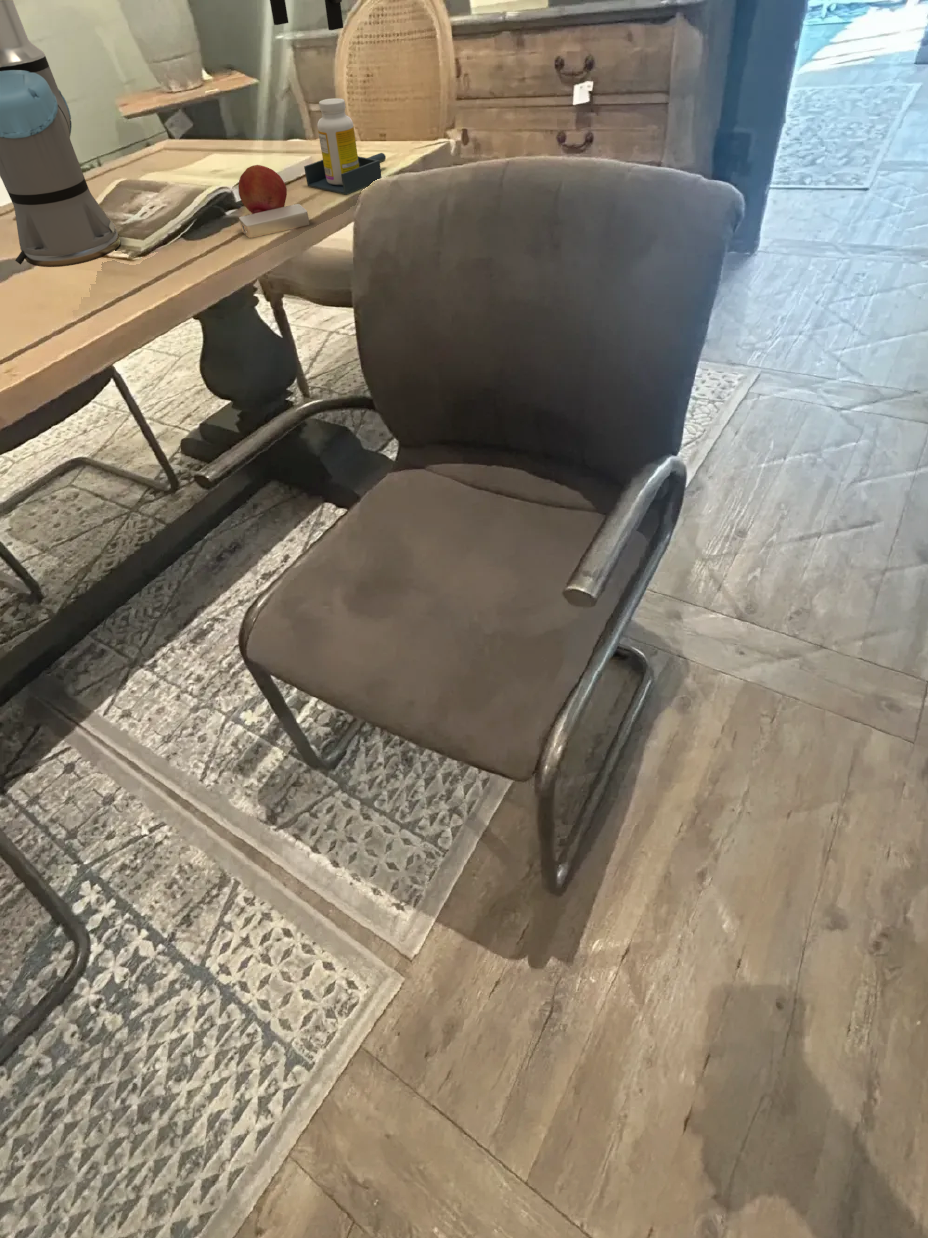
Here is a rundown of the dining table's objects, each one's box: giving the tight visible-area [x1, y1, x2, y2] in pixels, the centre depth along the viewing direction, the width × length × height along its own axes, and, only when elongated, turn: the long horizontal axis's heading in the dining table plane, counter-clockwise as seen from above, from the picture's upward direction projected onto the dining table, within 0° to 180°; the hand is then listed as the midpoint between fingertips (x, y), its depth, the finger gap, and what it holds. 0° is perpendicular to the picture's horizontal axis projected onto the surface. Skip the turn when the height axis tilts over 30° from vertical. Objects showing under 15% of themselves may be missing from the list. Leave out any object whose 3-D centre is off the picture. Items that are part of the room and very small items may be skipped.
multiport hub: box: [238, 203, 310, 239], centre depth 123 cm, size 4×11×2 cm, turn 119°
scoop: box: [303, 152, 387, 196], centre depth 139 cm, size 17×10×3 cm, turn 142°
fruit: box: [238, 164, 288, 214], centre depth 124 cm, size 8×8×10 cm
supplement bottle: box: [316, 97, 359, 185], centre depth 134 cm, size 7×7×13 cm
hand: (308, 26), depth 122 cm, fingers open, 13 cm apart
